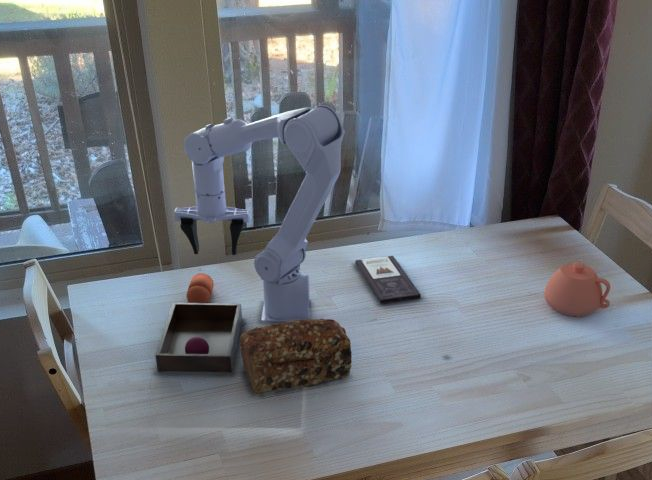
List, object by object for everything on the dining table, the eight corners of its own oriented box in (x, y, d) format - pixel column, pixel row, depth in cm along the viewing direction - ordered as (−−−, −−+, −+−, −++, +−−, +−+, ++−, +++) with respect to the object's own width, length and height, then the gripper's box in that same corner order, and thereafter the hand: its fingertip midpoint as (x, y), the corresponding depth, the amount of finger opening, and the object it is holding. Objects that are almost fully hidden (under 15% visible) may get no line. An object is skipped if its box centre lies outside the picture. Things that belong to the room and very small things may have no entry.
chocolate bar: (380, 299, 174) (355, 260, 187) (380, 303, 174) (355, 264, 188) (420, 294, 177) (392, 255, 190) (420, 298, 177) (392, 259, 191)
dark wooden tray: (242, 321, 167) (241, 303, 164) (232, 374, 152) (230, 356, 150) (175, 320, 166) (172, 302, 164) (158, 373, 151) (155, 355, 149)
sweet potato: (193, 289, 176) (190, 269, 173) (216, 288, 176) (213, 268, 173) (186, 312, 169) (183, 292, 166) (210, 311, 169) (207, 291, 166)
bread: (253, 398, 147) (250, 352, 141) (240, 365, 155) (236, 320, 149) (353, 380, 152) (354, 335, 147) (335, 349, 160) (336, 305, 154)
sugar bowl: (553, 286, 184) (561, 245, 178) (614, 304, 179) (624, 262, 173) (534, 311, 175) (541, 268, 169) (597, 330, 170) (607, 287, 164)
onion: (211, 352, 157) (209, 332, 154) (208, 365, 153) (206, 345, 150) (188, 351, 156) (185, 332, 154) (184, 365, 153) (181, 345, 150)
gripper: (168, 197, 158) (176, 260, 166) (245, 199, 159) (249, 262, 167) (174, 182, 164) (182, 244, 172) (248, 184, 165) (252, 246, 173)
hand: (215, 252), depth 170 cm, fingers open, 7 cm apart
